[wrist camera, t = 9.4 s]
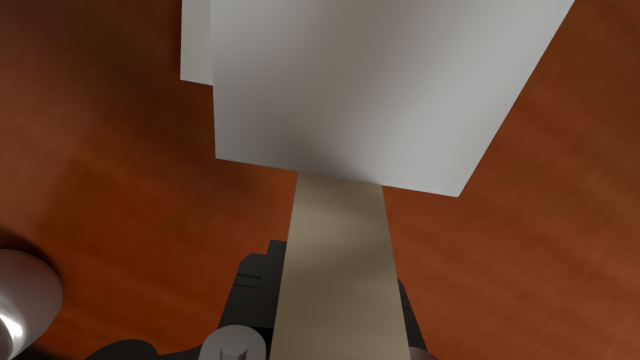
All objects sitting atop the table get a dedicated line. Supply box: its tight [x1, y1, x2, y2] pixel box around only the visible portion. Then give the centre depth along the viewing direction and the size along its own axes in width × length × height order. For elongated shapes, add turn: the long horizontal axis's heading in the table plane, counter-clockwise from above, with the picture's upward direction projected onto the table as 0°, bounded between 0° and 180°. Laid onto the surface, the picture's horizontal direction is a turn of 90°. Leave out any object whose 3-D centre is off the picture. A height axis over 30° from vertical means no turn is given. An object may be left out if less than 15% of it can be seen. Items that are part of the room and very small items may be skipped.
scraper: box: [210, 0, 575, 360], centre depth 8 cm, size 7×16×6 cm, turn 170°
